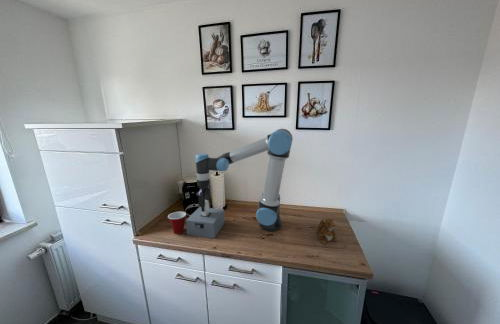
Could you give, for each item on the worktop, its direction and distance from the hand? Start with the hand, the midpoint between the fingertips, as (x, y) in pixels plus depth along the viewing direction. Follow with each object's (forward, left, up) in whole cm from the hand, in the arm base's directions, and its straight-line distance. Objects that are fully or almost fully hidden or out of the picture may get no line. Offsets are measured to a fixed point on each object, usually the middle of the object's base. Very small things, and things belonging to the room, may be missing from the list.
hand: (205, 213), depth 128 cm
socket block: (0, 0, -11) cm, 11 cm away
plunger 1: (0, +6, -5) cm, 8 cm away
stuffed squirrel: (-74, -7, -11) cm, 75 cm away
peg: (0, 0, -2) cm, 2 cm away
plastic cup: (+16, +7, -11) cm, 21 cm away
